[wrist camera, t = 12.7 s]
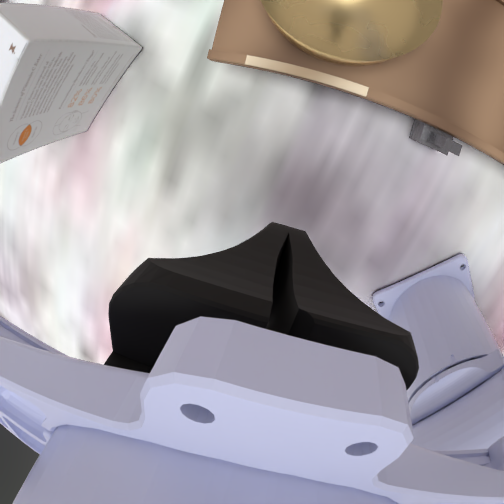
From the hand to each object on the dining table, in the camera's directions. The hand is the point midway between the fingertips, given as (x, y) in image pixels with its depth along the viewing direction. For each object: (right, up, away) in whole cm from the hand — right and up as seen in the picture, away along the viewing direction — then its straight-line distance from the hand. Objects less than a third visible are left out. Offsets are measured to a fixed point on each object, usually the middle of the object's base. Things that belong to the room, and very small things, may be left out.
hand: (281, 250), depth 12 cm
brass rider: (+3, +12, -1) cm, 13 cm away
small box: (-13, +13, +7) cm, 20 cm away
